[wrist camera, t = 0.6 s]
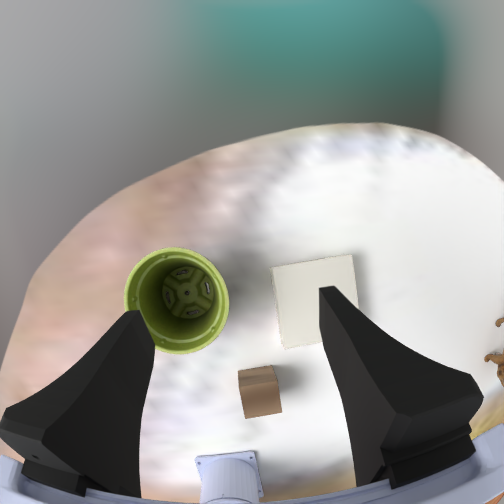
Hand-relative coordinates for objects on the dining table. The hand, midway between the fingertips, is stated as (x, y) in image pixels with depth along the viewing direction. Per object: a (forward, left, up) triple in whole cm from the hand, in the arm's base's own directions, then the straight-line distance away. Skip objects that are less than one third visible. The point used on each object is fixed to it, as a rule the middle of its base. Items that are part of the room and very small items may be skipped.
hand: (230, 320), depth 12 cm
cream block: (-4, -9, -23) cm, 25 cm away
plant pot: (0, +5, -23) cm, 24 cm away
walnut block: (-13, -1, -23) cm, 26 cm away
